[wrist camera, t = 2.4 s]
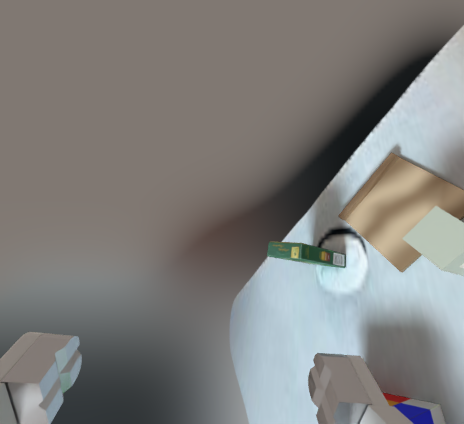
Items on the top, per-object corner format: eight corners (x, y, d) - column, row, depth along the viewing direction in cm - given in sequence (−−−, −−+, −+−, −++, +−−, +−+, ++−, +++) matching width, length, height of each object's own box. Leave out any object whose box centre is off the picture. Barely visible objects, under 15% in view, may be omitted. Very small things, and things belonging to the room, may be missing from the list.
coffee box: (348, 253, 46) (301, 242, 40) (347, 268, 46) (299, 260, 39) (312, 250, 53) (267, 240, 46) (311, 264, 53) (265, 256, 46)
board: (482, 200, 33) (478, 196, 32) (402, 272, 38) (397, 271, 38) (396, 156, 43) (391, 152, 42) (343, 218, 49) (338, 216, 48)
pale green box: (510, 251, 30) (484, 235, 24) (474, 279, 32) (442, 270, 26) (467, 225, 33) (435, 205, 28) (437, 251, 36) (402, 238, 30)
